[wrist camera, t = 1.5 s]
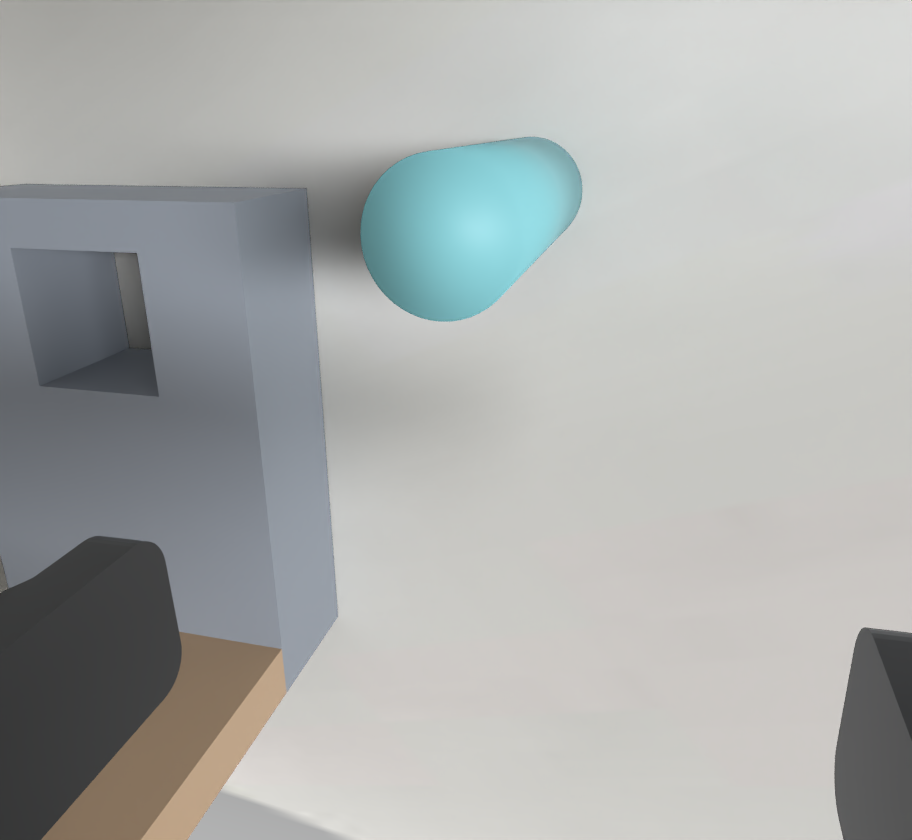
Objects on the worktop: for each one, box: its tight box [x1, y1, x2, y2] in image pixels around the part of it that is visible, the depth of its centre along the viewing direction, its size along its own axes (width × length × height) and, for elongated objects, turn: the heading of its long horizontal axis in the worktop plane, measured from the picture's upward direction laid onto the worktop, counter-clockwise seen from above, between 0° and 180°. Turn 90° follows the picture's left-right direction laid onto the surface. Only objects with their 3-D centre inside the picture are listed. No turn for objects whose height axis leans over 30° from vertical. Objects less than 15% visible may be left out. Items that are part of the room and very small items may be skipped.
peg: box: [361, 137, 582, 321], centre depth 21 cm, size 3×3×11 cm
